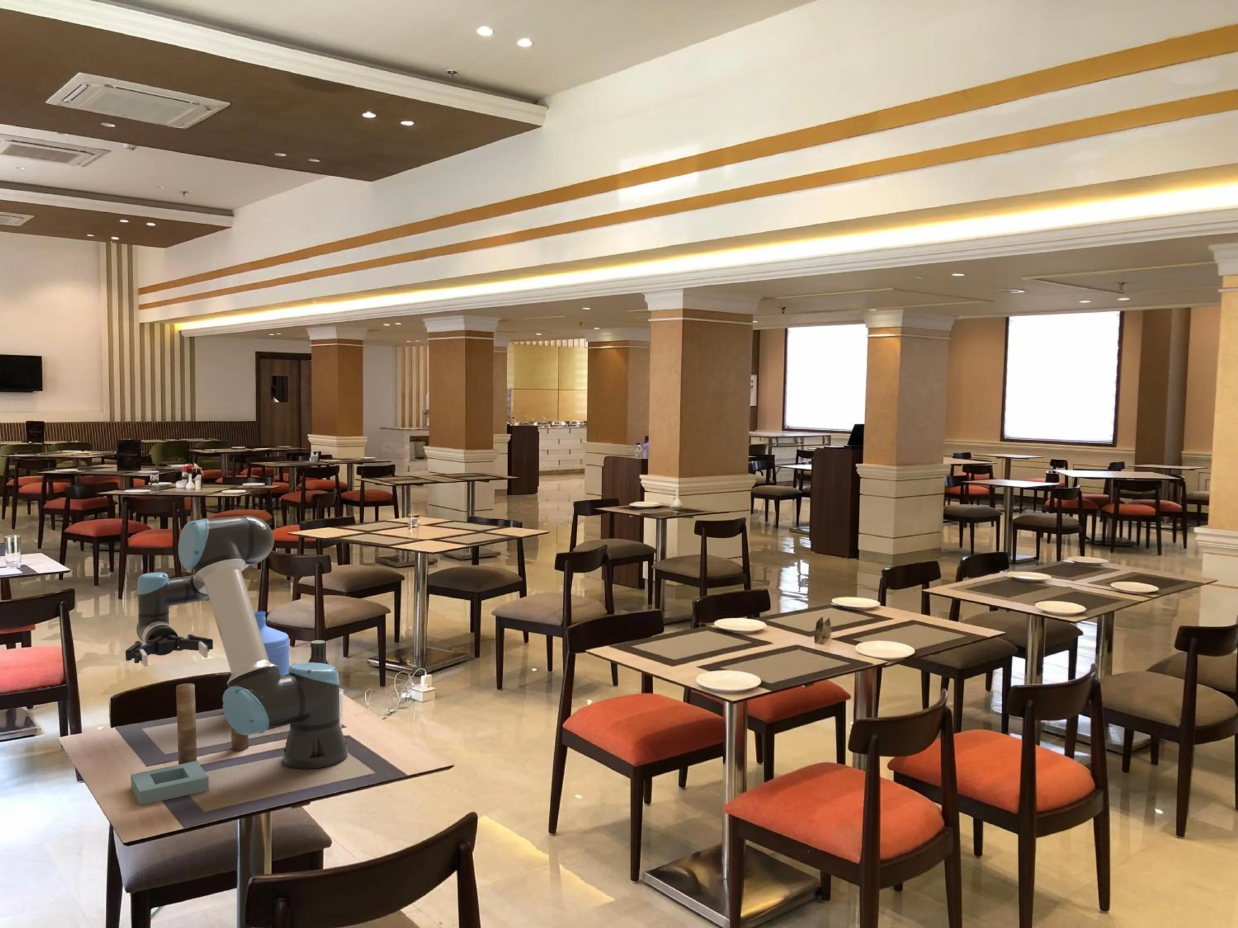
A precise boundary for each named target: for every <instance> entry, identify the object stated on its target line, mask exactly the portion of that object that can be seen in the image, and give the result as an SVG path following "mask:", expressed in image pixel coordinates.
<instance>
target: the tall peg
mask: <svg viewBox="0 0 1238 928" xmlns="http://www.w3.org/2000/svg"><path fill="white" fill-rule="evenodd" d="M195 688H196V686H195V684H194V683H193V682H192V683H191V682H188V683H181V684H177V685H176V687H175V692H176V694H175V696H176V722H177V723H176V724H177V726H176V727H177V753H178V754H177V757H178V761H177V762H178V764H177V765H180V764H185V763H190V762H195V761H197V762H198V759H197V758H198V757H197V756H198V755H197V722H196V721H197V720H196V689H195Z"/></svg>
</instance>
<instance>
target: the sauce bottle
mask: <svg viewBox="0 0 1238 928" xmlns="http://www.w3.org/2000/svg"><path fill="white" fill-rule="evenodd" d="M326 643H327V642H326V641H325V640H321V639H319V640H312V641H310V658H309V659H308V661H307V663H323V664H329V662H328V660H327V659H326V654H325V653H326V651H325V650H326V645H327V644H326Z"/></svg>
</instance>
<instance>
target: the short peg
mask: <svg viewBox="0 0 1238 928" xmlns="http://www.w3.org/2000/svg"><path fill="white" fill-rule="evenodd" d="M230 743H231V744H230V746H231V751H232V752H242V750H243V751H246V750H248V749H249V735H242V734H240V733H238V732H237V731H235V730H234V729H233V728H232V727H231V726H230ZM247 748H248V749H247ZM245 749H246V750H245Z"/></svg>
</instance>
